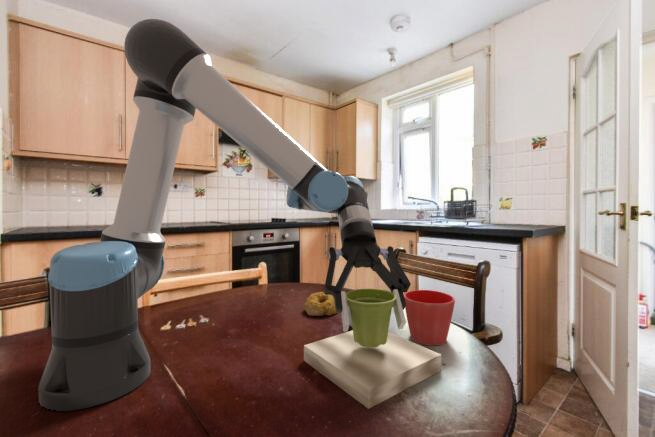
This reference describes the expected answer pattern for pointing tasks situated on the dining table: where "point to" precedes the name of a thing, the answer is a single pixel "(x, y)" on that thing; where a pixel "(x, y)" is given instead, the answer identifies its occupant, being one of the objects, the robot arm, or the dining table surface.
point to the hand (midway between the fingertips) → (374, 326)
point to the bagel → (320, 304)
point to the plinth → (372, 365)
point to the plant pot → (370, 315)
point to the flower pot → (429, 315)
